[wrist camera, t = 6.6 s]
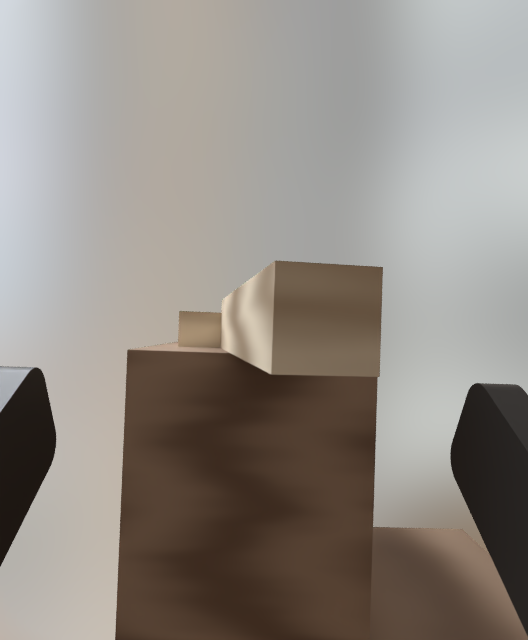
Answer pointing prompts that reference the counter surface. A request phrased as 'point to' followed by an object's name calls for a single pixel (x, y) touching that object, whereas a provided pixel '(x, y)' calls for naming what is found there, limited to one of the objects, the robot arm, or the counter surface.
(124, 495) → the walnut step stand
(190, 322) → the l-shaped block
